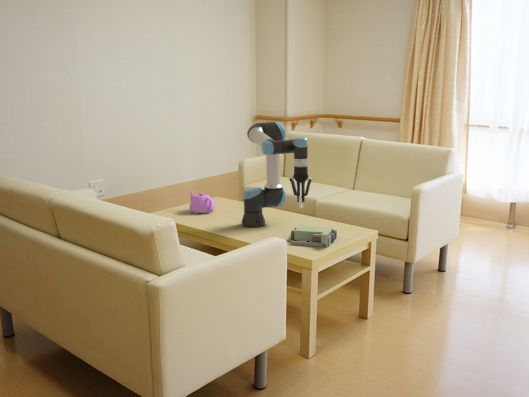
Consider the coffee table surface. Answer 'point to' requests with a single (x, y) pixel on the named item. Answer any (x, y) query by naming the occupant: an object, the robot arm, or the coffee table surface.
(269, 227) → the coffee table surface
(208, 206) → the teapot
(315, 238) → the orange striped grey block
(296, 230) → the green wheeled box
